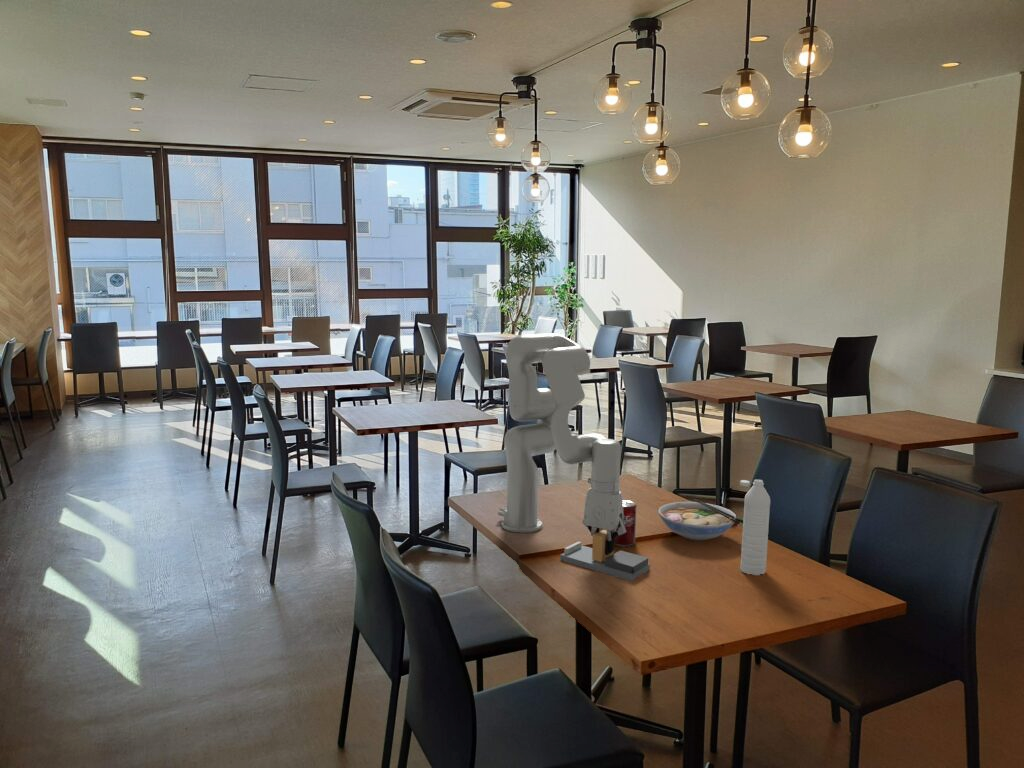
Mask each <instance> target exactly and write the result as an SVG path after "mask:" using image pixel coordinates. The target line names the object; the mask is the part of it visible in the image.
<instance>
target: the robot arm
mask: <svg viewBox="0 0 1024 768" xmlns="http://www.w3.org/2000/svg"><path fill="white" fill-rule="evenodd" d="M505 362H506V367H507V370H508V406H509V407H508V409H509V415H510V417H511V418H512V419H513V421H516V422H531V421H537V423H529V424H525V425H524V424H523V425H518V426H514V427H512V428H510V429H508V430H507V431H506V432H505V435H504V439H503V444H504V451H505V456H506V477H507V478H506V507H502V506H501V507H499V508H500V509H499V510H498V512H497V515H498V516H501V517H503V520H502V521H501V527H502V529H503V530H505V529H506V530H505V531H508V532H513V533H519V532H520V533H522V534H523V533H525V534H527V533H533V532H537V531H539V530H541V529H542V528H543V522H542V521H541V520H540V519H539V518H538V516H539V514H538V511H539V510H538V508H539V506H538V505H539V469H538V466H537V464H536V462H535V461H534V459H533V457H534V456H540V455H544V454H549V453H552V452H554V451H555V450H556V452H557V454H558V456H559V458H560V459H561V460H562V462H563V463H565V464H567V465H577V464H583V463H589V462H591V472H590V473H591V477H588V479H587V483H588V484H590V488H588V489H587V492H586V497H585V500H584V501H585V502H584V512H583V519H582V521H581V523H582V524H583V526H585V527H586V528H587V529H588V531H589V532H590V536H591V537H592V538H593V534H595V533H597V532H599V531H601V530H607V540H606V541H605V554H606V555H608V554H610V553H612V552H613V550H615V545H614V539H615V538H616V537H617V536H619V535H621V534H624V533H626V529H625V526H624V524H623V518H624V514H623V500H624V499H623V495H622V491H620V484H621V483H620V480H621V479H620V477H621V476H620V475H621V456H622V454H621V453H622V452H621V451H622V450H621V449H622V447H621V443H620V442H619V441H618V440H615V439H613V438H607V437H605V436H604V435H603V434H600V433H596V432H591V433H585V434H584V433H583V434H576V435H572V433H571V430H570V426H569V415H570V411H571V410H572V409H574V408H575V407H577V406H578V405H580V404H581V403H582V402H583V401H584V400H585V397H586V394H585V391H584V389H583V386H582V384H581V380H580V377H579V376H583V375H585V374H587V373H588V372H589V370H590V368H591V358H590V356H589V353H588V352H587V350H586V349H585V348H584V347H583V346H581V345H580V344H578V343H577V342H575V341H573V340H572V339H570V338H568V337H566V335H562V334H560V333H554V332H553V333H552V332H551V333H527V334H522V335H521V334H520V335H517V336H515V337H513V338H512V339H510V341H509V342H508V343H507V346H506V350H505ZM534 363H535V364H537V363H538V364H539V363H541V364H542V368H543V371H544V374H545V377H546V380H547V383H548V386H549V388H548V387H540V388H538V375H537V372H536V370H535V368H534V366H533V365H532V364H534ZM617 528H619V530H617V531H616V529H617Z"/></svg>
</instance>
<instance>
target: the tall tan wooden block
mask: <svg viewBox="0 0 1024 768" xmlns="http://www.w3.org/2000/svg"><path fill="white" fill-rule="evenodd" d="M606 540H607V530H603V529H601V530H600V531H599V532H597V533H595V534H593V537H592V548H593V549H592V560H595V561H599V562H603V561H605V558H607V557H609V556H611V555H613V554H615V553H614V550H615V549H614V550H613V552H612V553H610V554H608V555H606V554H605V541H606Z"/></svg>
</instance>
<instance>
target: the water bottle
mask: <svg viewBox="0 0 1024 768" xmlns="http://www.w3.org/2000/svg"><path fill="white" fill-rule="evenodd" d="M752 484H753V485H752V487H750V489H749V490H748V491H747V493H746V494H745V496H744V500H743V501H744V506H743V519H742V520H744V521H743V523H742V535H741V536H742V537H741V538H742V540H741V549H740V550H741V555H740V559H741V560H740V567H739V568H740V571H741V572H742V573H743V574H746V573H747V575H749V574H752V575H751V576H761V575H760V574H763V575H765V574H764V573H766V572H767V555H768V541H769V536H768V535H769V525H770V524H769V523H770V511H771V509H770V508H771V497H770V495H769V492H767V490H766V488H765V487H764V485H765V483H764V480H763V479H754V480H753V482H752ZM739 485H740V486H742V487H749V486H750V485H751V482H750V480H746V479H741V480H739Z"/></svg>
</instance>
